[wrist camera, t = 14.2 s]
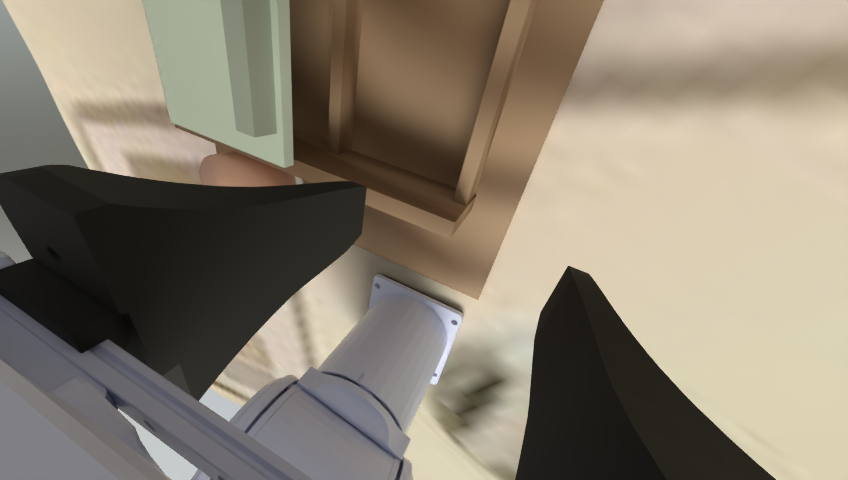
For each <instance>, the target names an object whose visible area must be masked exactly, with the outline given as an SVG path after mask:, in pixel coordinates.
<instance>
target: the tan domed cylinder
mask: <svg viewBox="0 0 848 480" xmlns="http://www.w3.org/2000/svg"><path fill="white" fill-rule="evenodd" d="M200 177H201V182H202V185H211V186H232V187H260V186H280V185H296V180H295V176H294V175H292V174H289V173H287V172H284V171H282V170H279V169H277V168H274V167H272V166H269V165H267V164H265V163H262V162H260V161H257V160H255V159H252V158H250V157H247V156H245V155H243V154H240V153H238V152H235V151H228V152H223V153H219V154H214V155H209V156H207V157H205V158H204V159H203V161H202V163H201V166H200Z"/></svg>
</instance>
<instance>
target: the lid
mask: <svg viewBox="0 0 848 480" xmlns="http://www.w3.org/2000/svg"><path fill="white" fill-rule="evenodd" d="M142 1H143V5H144V9H145V14H146V18H147V22H148V27H149V31H150V35H151V39H152V44H153V48H154V52H155V56H156V61H157V65H158V69H159V73H160V78H161V82H162V86H163V90H164V95H165V99H166V103H167V108H168V112H169V116H170V120H171V122H172V123H174V124H177V125H179V126H182V127H184V128H187V129H189V130H192V131H194V132H197V133H199V134H201V135H204V136H206V137H209V138H211V139H214V140H216V141H219V142H221V143H224V144H226V145H229V146H231V147H234V148H236V149H239V150H241V151H244V152H246V153H248V154H251V155H253V156H256V157H258V158H261V159H263V160H266V161H268V162H271V163H273V164H276V165H278V166H281V167H283V168H286V167H289V166H292V165H294V159H293V121H292V83H291V45H290V6H289V0H142Z"/></svg>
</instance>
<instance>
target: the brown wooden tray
mask: <svg viewBox="0 0 848 480" xmlns="http://www.w3.org/2000/svg"><path fill="white" fill-rule="evenodd" d="M603 1H604V0H289V6H290V45H291V83H292V121H293V159H294V165H292V166H289V167H286V168H283V167H281V166H278V165H276V164H273V163H271V162H268V161H266V160H263V159H261V158H258V157H256V156H253V155H251V154H248V153H246V152H244V151H241V150H239V149H236V148H234V147H231V146H229V145H226V144H224V143H221V142H219V141H216V140H214V139H211V138H209V137H206V136H204V135H201V134H199V133H197V132H194V131H192V130H189V129H187V128H184V127H182V126H179V125H177V124H175V127H176V128H179V129H181V130H184V131H186V132H189V133H191V134H193V135H196V136H198V137H201V138H203V139H206V140H208V141H211V142H213V143H215V144H216V150H217V154H219V153H223V152H228V151H235V152H238V153H240V154H243V155H245V156H247V157H250V158H252V159H255V160H257V161H260V162H262V163H265V164H267V165H269V166H272V167H274V168H277V169H279V170H282V171H284V172H287V173H289V174H292V175H294V176H295V180H296V184H308V183H320V182H333V181H353V182H356V183H358V184H361V185H363V186H366V187H367V191H366V200H365V209H364V218H363V226H362V234H361V236H360V237H359V238H358V239H357V240H356V241H355V242H354V245H356V246H359V247H361V248H363V249H365V250H368V251H370V252H372V253H374V254H377V255H379V256H381V257H383V258H386V259H388V260H390V261H392V262H394V263H397V264H399V265H401V266H403V267H406V268H408V269H410V270H412V271H415V272H417V273H419V274H421V275H423V276H426V277H428V278H430V279H432V280H435V281H437V282H439V283H441V284H444V285H446V286H448V287H450V288H452V289H455V290H457V291H459V292H461V293H464V294H466V295H468V296H470V297H473V298H475V299H477V300H478V299H479V296H480V294H481V292H482V289H483V287H484V284H485V282H486V280H487V277H488V275H489V273H490V270H491V268H492V265H493V263H494V261H495V258H496V256H497V253H498V251H499V249H500V246H501V244H502V242H503V239H504V237H505V234H506V232H507V230H508V227H509V225H510V222H511V220H512V218H513V215H514V213H515V211H516V208H517V206H518V203H519V201H520V199H521V196H522V194H523V191H524V189H525V187H526V184H527V182H528V180H529V177H530V175H531V172H532V170H533V168H534V165H535V163H536V161H537V158H538V156H539V153H540V151H541V149H542V146H543V144H544V141H545V139H546V137H547V134H548V132H549V130H550V127H551V125H552V122H553V120H554V118H555V115H556V113H557V110H558V108H559V106H560V103H561V101H562V99H563V96H564V94H565V91H566V89H567V87H568V84H569V82H570V80H571V77H572V75H573V72H574V70H575V68H576V65H577V63H578V60H579V58H580V56H581V53H582V51H583V49H584V46H585V44H586V41H587V39H588V37H589V34H590V32H591V29H592V27H593V25H594V22H595V20H596V18H597V15H598V13H599V10H600V8H601V6H602V3H603Z"/></svg>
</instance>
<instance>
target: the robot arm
mask: <svg viewBox="0 0 848 480" xmlns="http://www.w3.org/2000/svg"><path fill="white" fill-rule="evenodd" d="M366 191H367V187H366V186H363V185H361V184H358V183H356V182H353V181H333V182H320V183H308V184H296V185H280V186H260V187H232V186H211V185H197V184H183V183H174V182H165V181H157V180H150V179H143V178H136V177H129V176H123V175H118V174H112V173H107V172H101V171H96V170H90V169H85V168H80V167H75V166H70V165H45V166H39V167H34V168H28V169H23V170H17V171H12V172H6V173H0V205H1V206H2V208H3V210H4V212H5V214H6V215H7V217H8V219H9V220H10V222H11V223H12V225H13V227H14V228H15V230H16V231H17V233H18V235H19V237H20V238H21V240H22V242H23V243H24V244H25V246H26V248H27V250H28V251H29V253H30V255H31V256H32V257H33V259H30V260H27V261H24V262H21V263H18V264H16V263H15V262H14V261H13V260H12V259H11V257H10V256H8V255H7V254H6V253H5V252H3V251H2V250H0V480H171V479H170V478H169V477H167V476H166V475H165V474H164V473H163V471H162V470H161V469H160V468H159V466H158V465H157V464H156V462H155V461H154V460H153V459H152V457H151V456H150V455H149V453H148V451H147V450H146V448H145V447H144V446H143V444H142V442H141V441H140V439H139V436H138V434H137V432H136V429H135V427H134V426H133V425H132V424H131V423H130V422H129V421H128V420H127V419H126V418H125V417H124V416H123V415H122V414H121V413H120V412H119V411H118V408H119V409H120V410H121V411H123V412H124V413H125V414H127V415H128V416H129V417H131V418H132V419H133V420H135V421H136V422H137V423H139V424H140V425H141V426H143V427H144V428H145V429H146V430H148V431H149V432H150V433H152V434H153V435H155V436H156V437H157V438H158V439H160V440H161V441H162V442H164V443H165V444H166V445H168V446H169V447H170V448H172V449H173V450H174V451H176V452H177V453H178V454H180V455H181V456H182V457H184V458H185V459H186V460H188V461H189V462H190V463H191V464H193V465H194V466H195V467H197V468H198V470H197V472H196V473H195V475H194V476H193V478H192V479H191V480H413V475H412V464H411V462H410V461H409V460H407V459H406V458H405V457H403V456H404V453H405V451H406V449H407V447H408V444H409V442H410V438H409V437H408V436H407V435H406V433H407V431H408V429H409V427H410V425H411V422H412V420H413V418H414V416H415V414H416V412H417V409H418V407H419V405H420V403H421V401H422V399H423V396H424V394H425V392H426V390H427V388H428V386H429V383H431V384H437V382H438V380H439V377H440V375H441V372H442V370H443V367H444V365H445V362H446V360H447V357H448V355H449V352H450V350H451V347H452V345H453V342H454V340H455V337H456V335H457V332H458V330H459V327H460V325H461V322H462V320H463V314H462V313H461V312H460V311H458V310H456V309H454V308H451V307H449V306H447V305H445V304H443V303H441V302H439V301H436V300H434V299H432V298H430V297H428V296H426V295H423V294H421V293H419V292H417V291H415V290H413V289H410V288H408V287H406V286H404V285H402V284H400V283H398V282H395V281H393V280H391V279H389V278H387V277H385V276H382V275H380V274H377V275H376V276H375V277H374V278H373V284H372V290H371V297H370V303H369V310H368V312H367V313H366V314H365V315H364V316H363V317H362V318H361V320H360V321H359V322H358V323H357V324H356V325H355V326H354V328H353V329H352V330H351V331H350V332H349V333H348V335H347V336H346V337H345V338H344V339H343V340H342V341H341V343H340V344H339V345H338V346H337V347H336V348H335V350H334V351H333V352H332V353H331V354H330V355H329V356H328V358H327V359H326V360H325V361H324V362H323V363H322V365H321V366H320V367H319V368H318V369H317V370H316V369H315V368H313V367H310V368H309V370H308V371H307V372H306V373H305V374H304V375H303V376H302V377H301V378H300V380H299V379H298V378H297V377H295V376H294V375H287V376H285V377H283V378H279V379H275V380H273V381H271V382H270V383H268V384H267V385H265V386H264V387H263V388H262V389H261V390H259V391H258V392H257V393H256V394H255V395H254V396H253V397H252V398H251V399H250V400H249V401H248V402H247V403H246V404H245V405H244V406H243V407H242V408H241V409H240V410H239V411H238V412H237V413H236V414H235V416H234V417H233V418H232V419H231V420H230V421H229V422H228V421H227V420H225V419H224V418H222V417H221V416H219V415H218V414H216V413H215V412H214V411H212V410H211V409H209V408H208V407H206V406H205V405H203V404H202V403H200V402H199V400H200V399H201V397H202V396H203V395H204V393H205V392H206V391H207V390H208V388H209V387H210V386H211V385H212V384H213V382H214V381H215V380H216V379H217V377H218V376H219V375H220V374H221V372H222V371H223V370H224V369H225V368H226V366H227V365H228V364H229V363H230V362H231V360H232V359H233V358H234V357H235V356H236V355H237V354H238V352H239V351H240V350H241V349H242V348H243V347H244V346H245V344H246V343H247V342H248V341H249V340H250V339H251V338H252V336H253V335H254V334H255V333H256V332H257V331H258V330H259V329H260V328H261V327H262V326H263V325H264V324H265V323H266V322H267V321H268V319H269V318H270V317H271V316H272V315H273V314H274V313H275V312H276V311H277V310H278V309H279V308H280V307H281V306H282V305H283V304H284V303H285V302H286V301H287V300H288V299H289V298H290V297H291V296H292V295H294V294H295V293H296V292H297V291H298V290H299V289H300V288H302V287H303V286H304V285H305V284H307V283H308V282H309V281H310V280H312V279H313V278H314V277H315V276H317V275H318V274H319V273H320V272H322V271H323V270H324V269H325V268H327V267H328V266H329V265H330V264H332V263H333V262H334V261H335V260H337V259H338V258H339V257H340V256H341V255H343V254H344V253H345V252H346V251H347V250H348V249H349V248H350V247H351V246H352V245H353V244H354V242H355V241H356V240H357V239H358V238H359V237H360V236H361V234H362V226H363V218H364V209H365V200H366ZM378 284H379V285H380V286H379V285H378ZM453 320H455V321H457V322H455V321H453ZM515 480H776V479H775V478H774V477H772V476H771V475H770V474H769V473H768V472H767V471H765V470H764V469H763V468H762V467H761V466H760V465H758V464H757V463H756V462H755V461H754V460H753V459H752V458H751V457H749V456H748V455H747V454H746V453H745V452H744V451H743V450H742V449H741V448H739V447H738V446H737V445H736V444H735V443H734V442H733V441H732V440H731V439H730V438H728V437H727V436H726V435H725V434H724V433H723V432H722V431H721V430H720V429H719V428H718V427H717V426H716V425H715V424H714V423H713V422H712V421H711V420H710V419H709V418H708V417H707V416H706V415H704V414H703V413H702V412H701V411H700V410H699V409H698V408H697V407H696V406H695V405H694V404H693V403H692V402H691V401H690V400H689V399H688V398H687V397H686V396H685V395H684V394H683V393H682V392H681V390H680V389H679V388H678V387H677V386H676V385H675V384H674V383H673V382H672V381H671V380H670V378H669V377H668V376H667V375H666V374H665V373H664V372H663V371H662V370H661V369H660V368H659V366H658V365H657V364H656V363H655V362H654V361H653V359H652V358H651V357H650V356H649V355H648V354H647V352H646V351H645V350H644V349H643V347H642V346H641V345H640V343H639V342H638V341H637V340H636V338H635V337H634V336H633V335H632V333H631V332H630V331H629V329H628V328H627V327H626V325H625V324H624V323H623V321H622V320H621V318H620V317H619V316H618V314H617V313H616V311H615V310H614V309H613V307H612V306H611V304H610V303H609V301H608V300H607V298H606V297H605V295H604V294H603V292H602V291H601V290H600V288H599V287H598V285H597V284H596V282H595V281H594V280H593V278H592V277H591V276H590V275H589V274H588V273H585V272H583V271H580V270H578V269H575V268H573V267H570V266H568V267H567V269H566V270H565V272H564V274H563V276H562V277H561V279H560V281H559V282H558V284H557V286H556V287H555V289H554V291H553V292H552V294H551V296H550V297H549V299H548V301H547V303H546V304H545V306H544V308H543V309H542V311H541V313H540V317H539V321H538V325H537V330H536V334H535V339H534V350H533V362H532V375H531V388H530V401H529V410H528V418H527V424H526V429H525V434H524V440H523V445H522V450H521V455H520V460H519V465H518V469H517V474H516V479H515Z"/></svg>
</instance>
